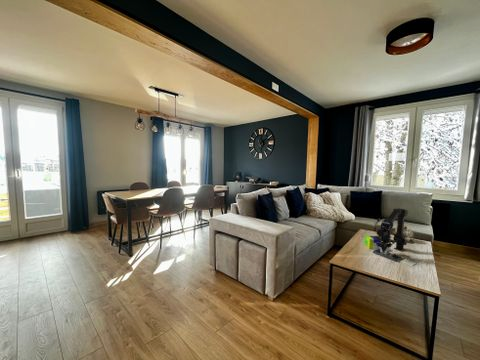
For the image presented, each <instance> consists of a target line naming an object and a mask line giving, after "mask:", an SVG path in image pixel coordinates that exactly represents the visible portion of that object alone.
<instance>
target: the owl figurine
mask: <svg viewBox="0 0 480 360" xmlns="http://www.w3.org/2000/svg"><path fill="white" fill-rule="evenodd" d="M394 230H395V231H392V233H393V235H394V234H396V233H397V226H396V227H395V229H394ZM403 234H404V235H405V239H406V241H407V244H415V241H414V240H415V237H414V231H412V230H411V229H410V228H408V227H407V225H406V224H404V230H403Z"/></svg>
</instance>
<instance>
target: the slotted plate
mask: <svg viewBox="0 0 480 360" xmlns="http://www.w3.org/2000/svg"><path fill="white" fill-rule="evenodd" d="M372 252H373V254H375V255H378V256H380V257H382V258H385V259H387V260H390V261H392V262H395V263H397V262H400V261H401V260H403V257H402V256H401V255H398V254H394V253H392V252H390V254H389V255H385V254H382V253H380V249H377V250H373V251H372Z"/></svg>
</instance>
